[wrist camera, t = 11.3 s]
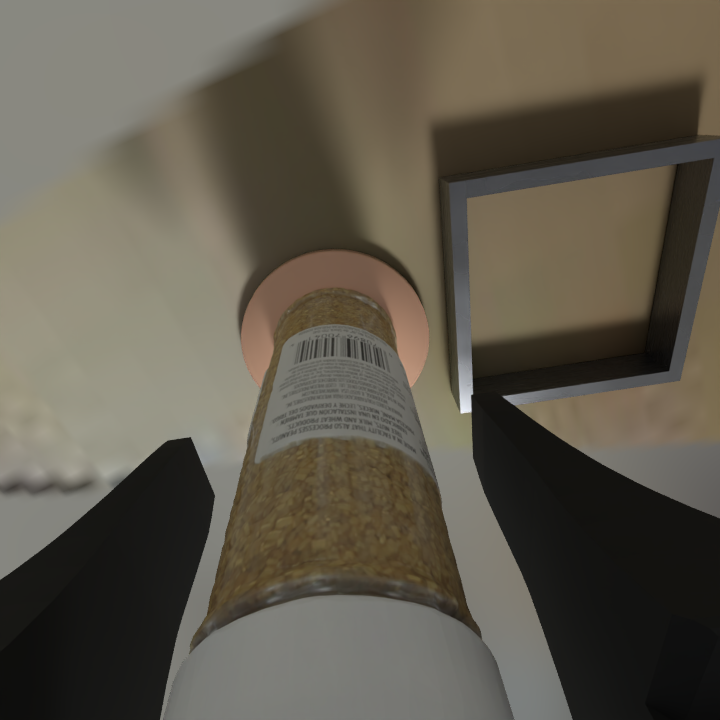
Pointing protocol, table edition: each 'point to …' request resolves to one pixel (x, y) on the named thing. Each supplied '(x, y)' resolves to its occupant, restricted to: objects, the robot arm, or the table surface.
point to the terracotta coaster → (334, 273)
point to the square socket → (674, 286)
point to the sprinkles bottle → (337, 547)
